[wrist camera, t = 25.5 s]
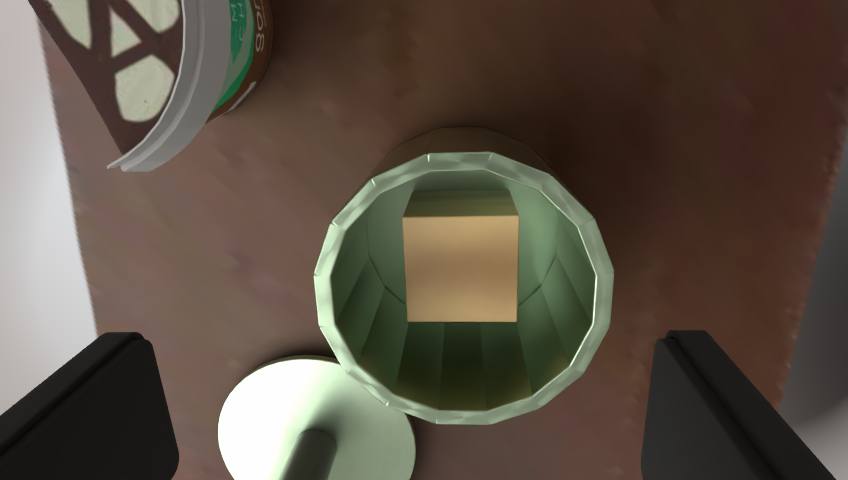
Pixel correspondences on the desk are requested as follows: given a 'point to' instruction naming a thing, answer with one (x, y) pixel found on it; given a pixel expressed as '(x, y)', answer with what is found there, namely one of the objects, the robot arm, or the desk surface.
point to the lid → (312, 426)
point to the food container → (161, 65)
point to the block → (461, 256)
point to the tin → (464, 341)
